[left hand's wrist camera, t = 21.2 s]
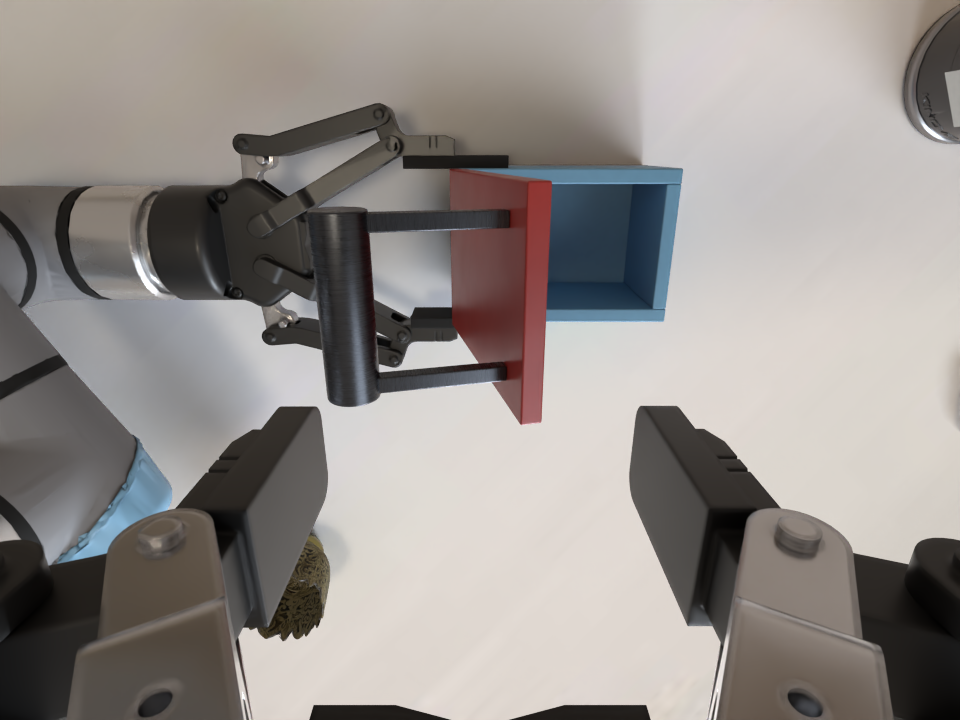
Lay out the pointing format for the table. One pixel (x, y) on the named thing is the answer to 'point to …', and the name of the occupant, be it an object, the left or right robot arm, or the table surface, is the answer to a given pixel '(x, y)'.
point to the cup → (302, 595)
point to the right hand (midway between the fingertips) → (506, 243)
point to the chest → (608, 239)
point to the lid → (475, 290)
